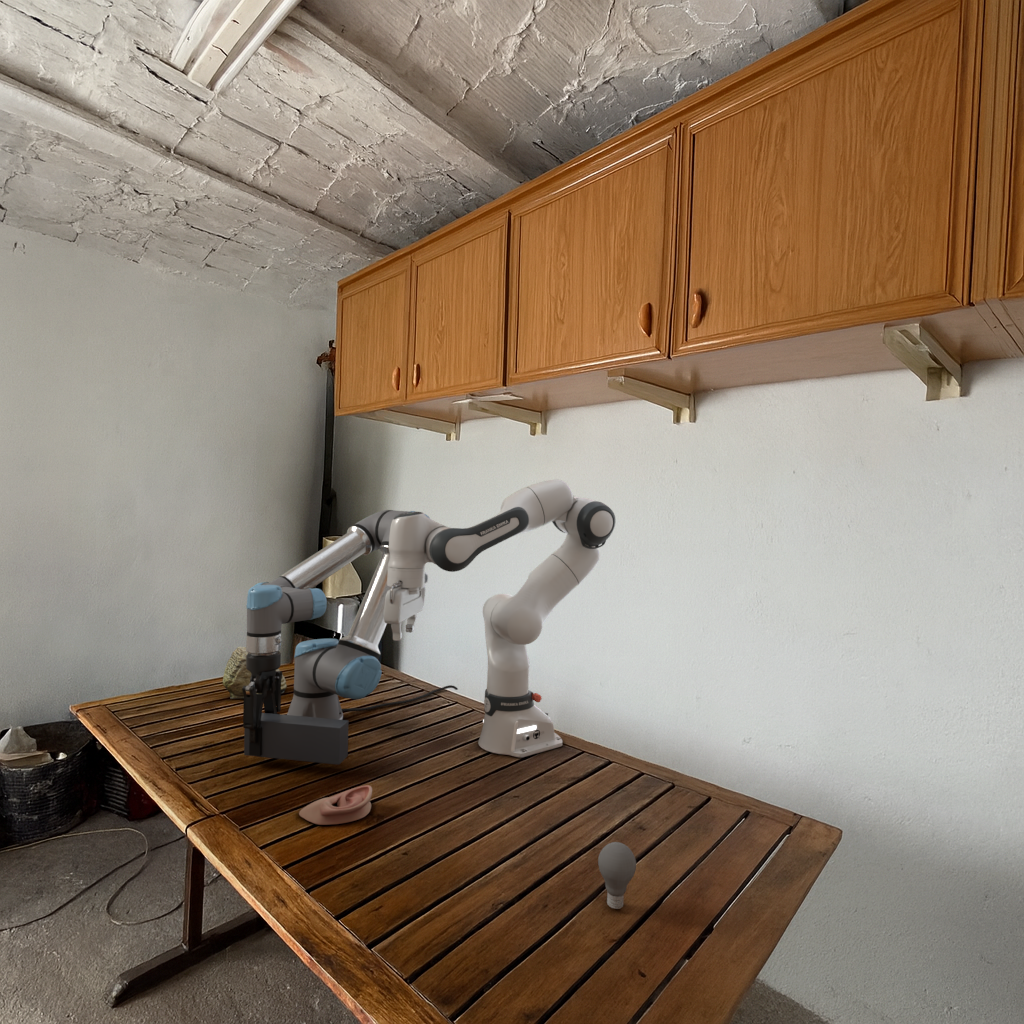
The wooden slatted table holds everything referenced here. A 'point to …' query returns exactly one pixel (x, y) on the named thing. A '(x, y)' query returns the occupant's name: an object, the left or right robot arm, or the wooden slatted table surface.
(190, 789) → the wooden slatted table surface
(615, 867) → the light bulb
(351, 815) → the anatomical model
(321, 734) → the bar
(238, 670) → the fossil
